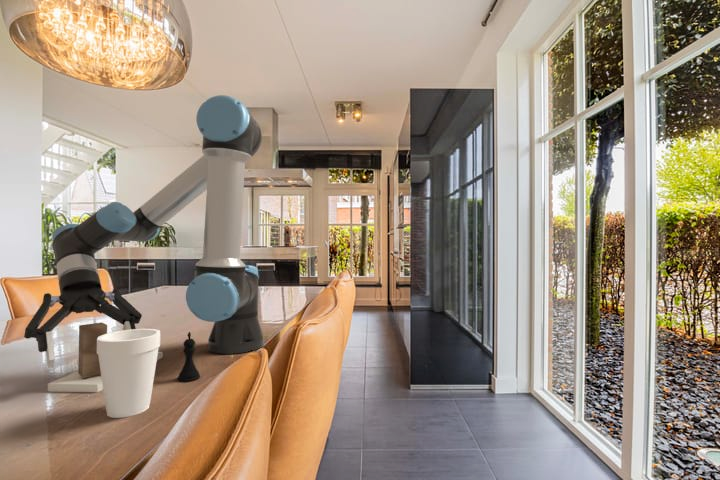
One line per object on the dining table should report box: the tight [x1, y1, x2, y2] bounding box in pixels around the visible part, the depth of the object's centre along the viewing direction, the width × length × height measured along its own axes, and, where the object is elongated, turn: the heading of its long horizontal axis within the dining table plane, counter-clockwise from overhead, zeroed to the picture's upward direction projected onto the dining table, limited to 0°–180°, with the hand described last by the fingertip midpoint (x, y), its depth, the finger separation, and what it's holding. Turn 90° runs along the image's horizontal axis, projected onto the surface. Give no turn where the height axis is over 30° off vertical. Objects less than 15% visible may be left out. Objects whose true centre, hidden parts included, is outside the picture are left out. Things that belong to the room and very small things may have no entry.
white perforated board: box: [47, 351, 164, 393], centre depth 82 cm, size 10×22×2 cm, turn 178°
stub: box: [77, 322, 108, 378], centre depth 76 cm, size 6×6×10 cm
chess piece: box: [177, 331, 201, 383], centre depth 78 cm, size 4×4×10 cm
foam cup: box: [97, 328, 161, 419], centre depth 63 cm, size 10×9×13 cm
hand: (94, 356), depth 74 cm, fingers open, 13 cm apart
